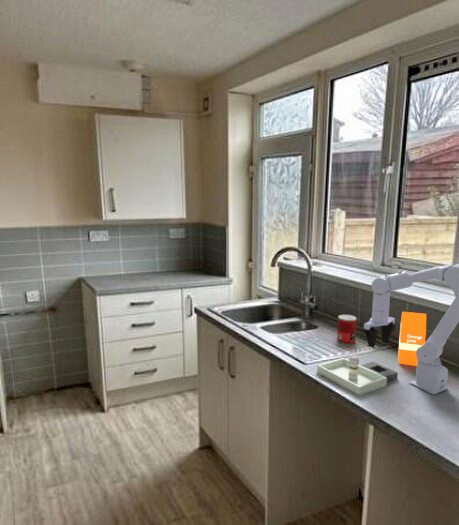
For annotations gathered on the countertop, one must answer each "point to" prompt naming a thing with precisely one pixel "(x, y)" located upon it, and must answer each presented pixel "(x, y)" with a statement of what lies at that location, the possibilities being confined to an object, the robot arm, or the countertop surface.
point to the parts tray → (339, 375)
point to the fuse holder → (382, 371)
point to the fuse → (353, 368)
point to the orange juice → (411, 337)
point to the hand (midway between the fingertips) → (378, 344)
